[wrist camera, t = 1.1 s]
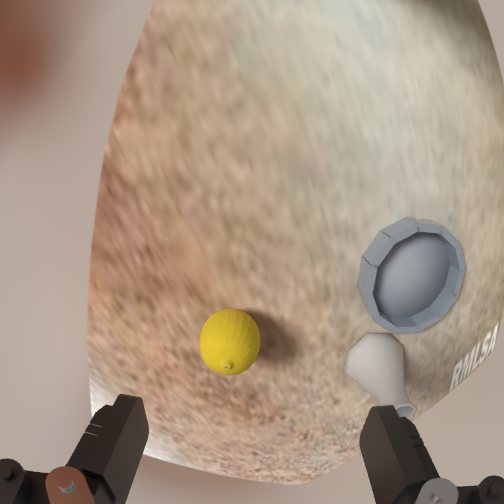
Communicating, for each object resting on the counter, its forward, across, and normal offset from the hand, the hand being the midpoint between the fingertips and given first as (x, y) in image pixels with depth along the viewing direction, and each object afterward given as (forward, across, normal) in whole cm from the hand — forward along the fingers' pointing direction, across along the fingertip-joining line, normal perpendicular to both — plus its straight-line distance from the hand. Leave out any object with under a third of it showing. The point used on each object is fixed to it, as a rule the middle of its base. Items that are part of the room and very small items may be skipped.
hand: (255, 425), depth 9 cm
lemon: (+21, +2, +7) cm, 22 cm away
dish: (+21, -16, +1) cm, 26 cm away
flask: (+21, -14, +12) cm, 28 cm away
